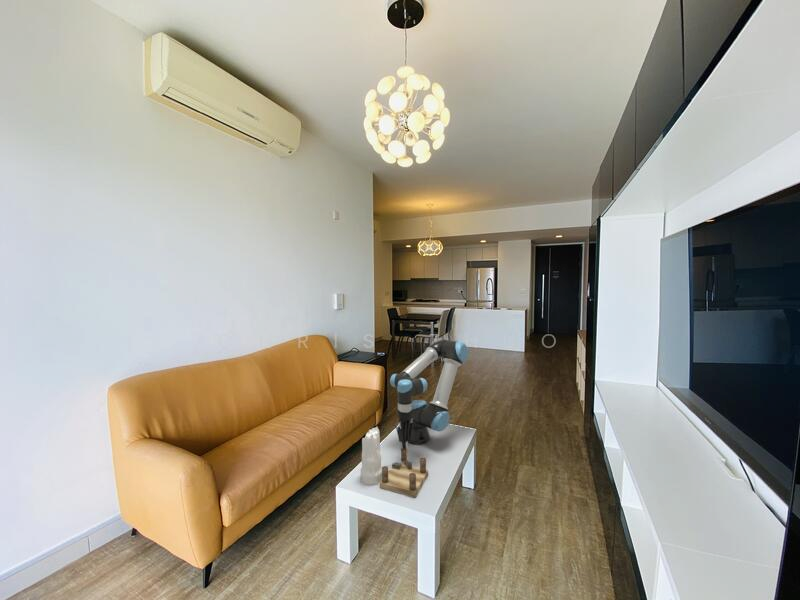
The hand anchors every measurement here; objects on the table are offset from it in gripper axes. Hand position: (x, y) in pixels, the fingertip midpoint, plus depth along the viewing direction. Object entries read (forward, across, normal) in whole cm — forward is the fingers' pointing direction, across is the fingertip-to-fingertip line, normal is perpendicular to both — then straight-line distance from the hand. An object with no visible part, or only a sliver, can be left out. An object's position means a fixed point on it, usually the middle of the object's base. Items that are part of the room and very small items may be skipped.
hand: (405, 452), depth 167 cm
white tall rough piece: (+6, +20, -4) cm, 22 cm away
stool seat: (+6, +11, +10) cm, 16 cm away
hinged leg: (+3, +3, +4) cm, 6 cm away
